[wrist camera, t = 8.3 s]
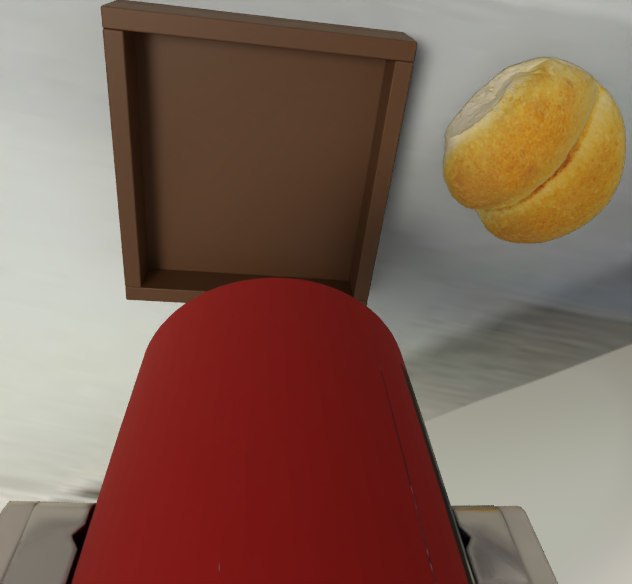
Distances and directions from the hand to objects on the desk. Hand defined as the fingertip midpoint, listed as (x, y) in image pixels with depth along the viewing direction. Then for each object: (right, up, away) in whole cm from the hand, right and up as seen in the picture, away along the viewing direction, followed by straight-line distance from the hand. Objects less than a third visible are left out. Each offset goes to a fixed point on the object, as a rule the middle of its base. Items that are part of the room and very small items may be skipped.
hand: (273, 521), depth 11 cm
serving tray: (-2, +11, +17) cm, 20 cm away
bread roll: (+11, +12, +18) cm, 24 cm away
